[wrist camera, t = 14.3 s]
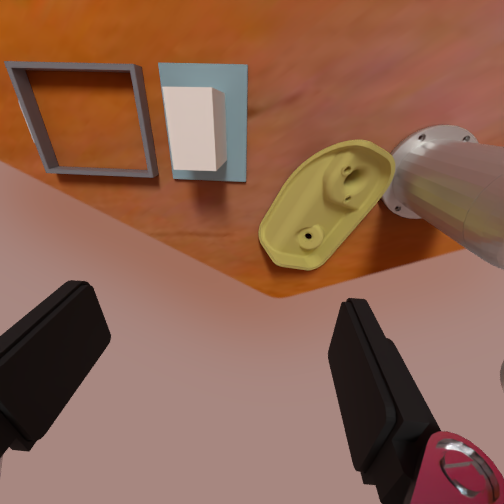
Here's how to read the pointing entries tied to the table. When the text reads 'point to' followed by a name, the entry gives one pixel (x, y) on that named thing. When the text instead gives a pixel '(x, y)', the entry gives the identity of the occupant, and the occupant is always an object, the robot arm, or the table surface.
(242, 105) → the mat
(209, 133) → the block
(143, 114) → the grey rectangular frame
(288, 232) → the plastic component
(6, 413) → the robot arm
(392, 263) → the table surface
